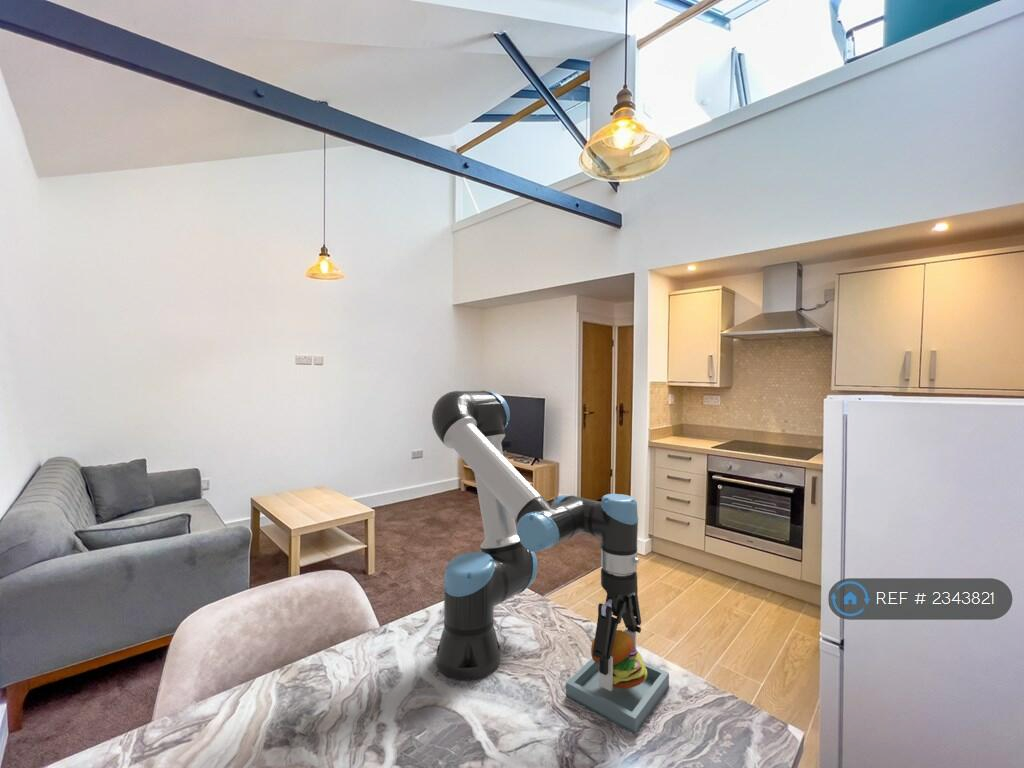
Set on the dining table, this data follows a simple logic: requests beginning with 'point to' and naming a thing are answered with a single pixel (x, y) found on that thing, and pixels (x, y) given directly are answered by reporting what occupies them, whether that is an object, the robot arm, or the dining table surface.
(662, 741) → the dining table surface
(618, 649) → the cheeseburger
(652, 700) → the bin
